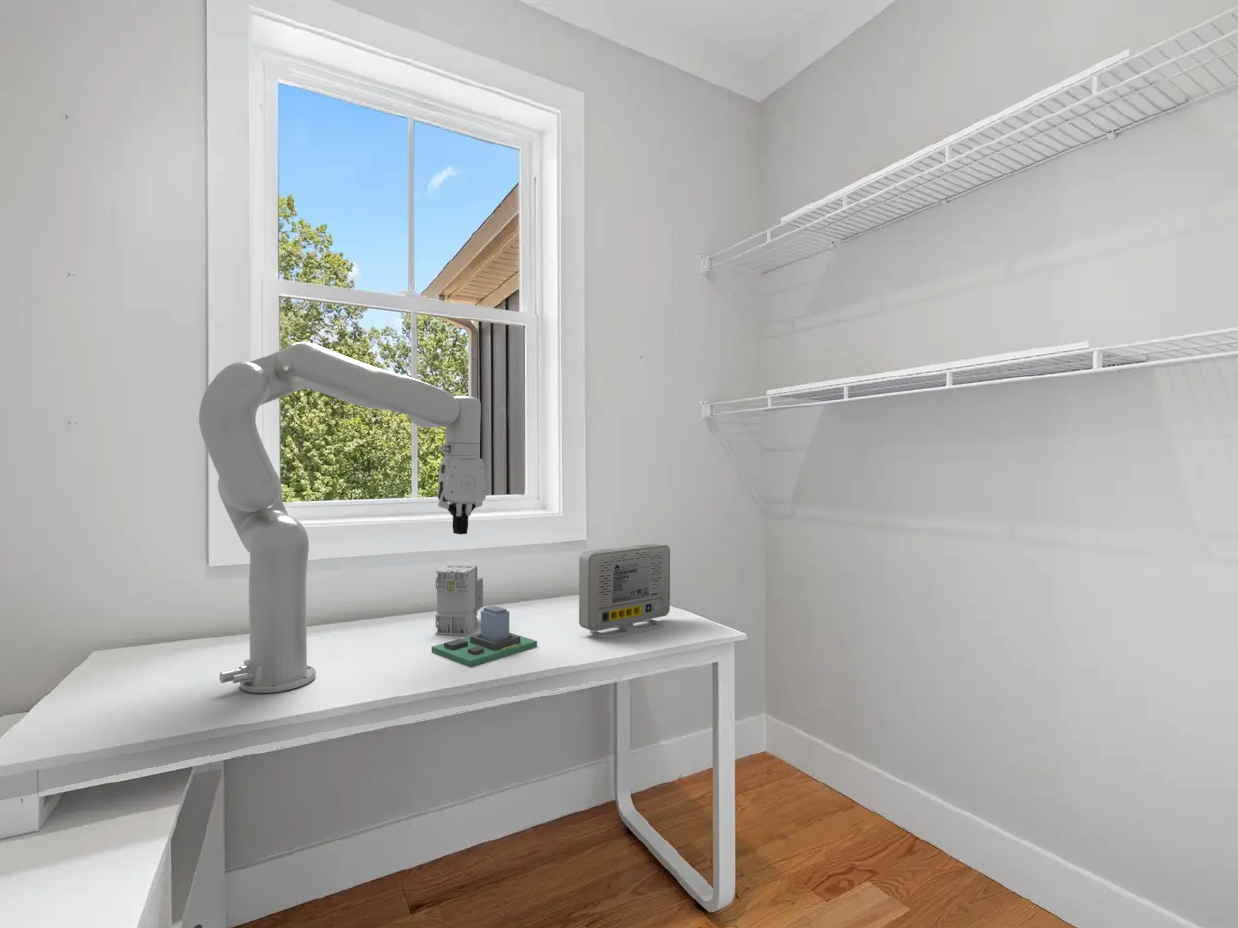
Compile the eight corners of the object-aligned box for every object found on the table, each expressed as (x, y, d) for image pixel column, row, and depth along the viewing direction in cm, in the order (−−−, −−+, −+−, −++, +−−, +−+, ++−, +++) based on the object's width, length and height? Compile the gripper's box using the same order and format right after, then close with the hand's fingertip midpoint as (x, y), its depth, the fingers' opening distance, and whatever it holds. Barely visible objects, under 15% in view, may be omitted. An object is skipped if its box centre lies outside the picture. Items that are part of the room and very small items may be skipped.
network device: (654, 617, 167) (654, 541, 167) (676, 624, 160) (677, 545, 160) (573, 633, 152) (573, 550, 151) (594, 642, 145) (595, 555, 144)
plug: (494, 646, 137) (494, 612, 137) (480, 642, 141) (480, 608, 141) (509, 642, 140) (509, 608, 140) (494, 638, 144) (494, 604, 144)
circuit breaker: (484, 619, 164) (484, 561, 164) (466, 635, 150) (466, 572, 150) (456, 618, 165) (456, 561, 165) (435, 634, 151) (435, 571, 150)
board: (470, 666, 128) (470, 654, 128) (431, 651, 138) (431, 640, 137) (537, 646, 142) (537, 634, 142) (497, 633, 151) (497, 623, 151)
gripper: (441, 450, 134) (439, 537, 134) (499, 453, 144) (497, 533, 145) (423, 450, 139) (421, 534, 139) (480, 452, 150) (478, 530, 150)
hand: (460, 533), depth 142 cm, fingers closed
